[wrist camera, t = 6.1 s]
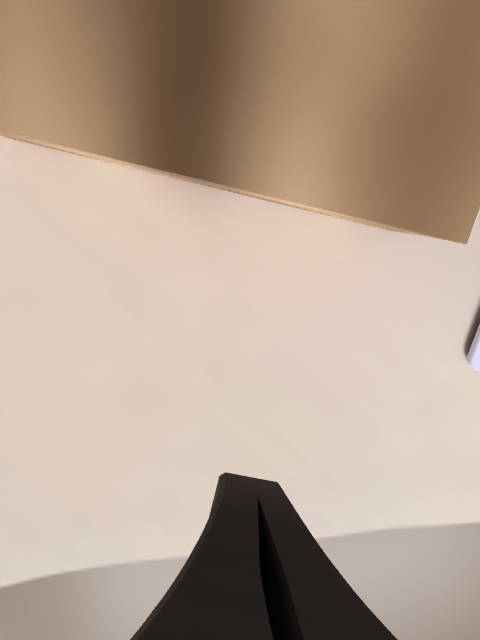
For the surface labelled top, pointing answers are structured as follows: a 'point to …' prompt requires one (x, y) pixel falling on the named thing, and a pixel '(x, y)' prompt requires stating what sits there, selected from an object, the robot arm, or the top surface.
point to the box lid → (263, 97)
